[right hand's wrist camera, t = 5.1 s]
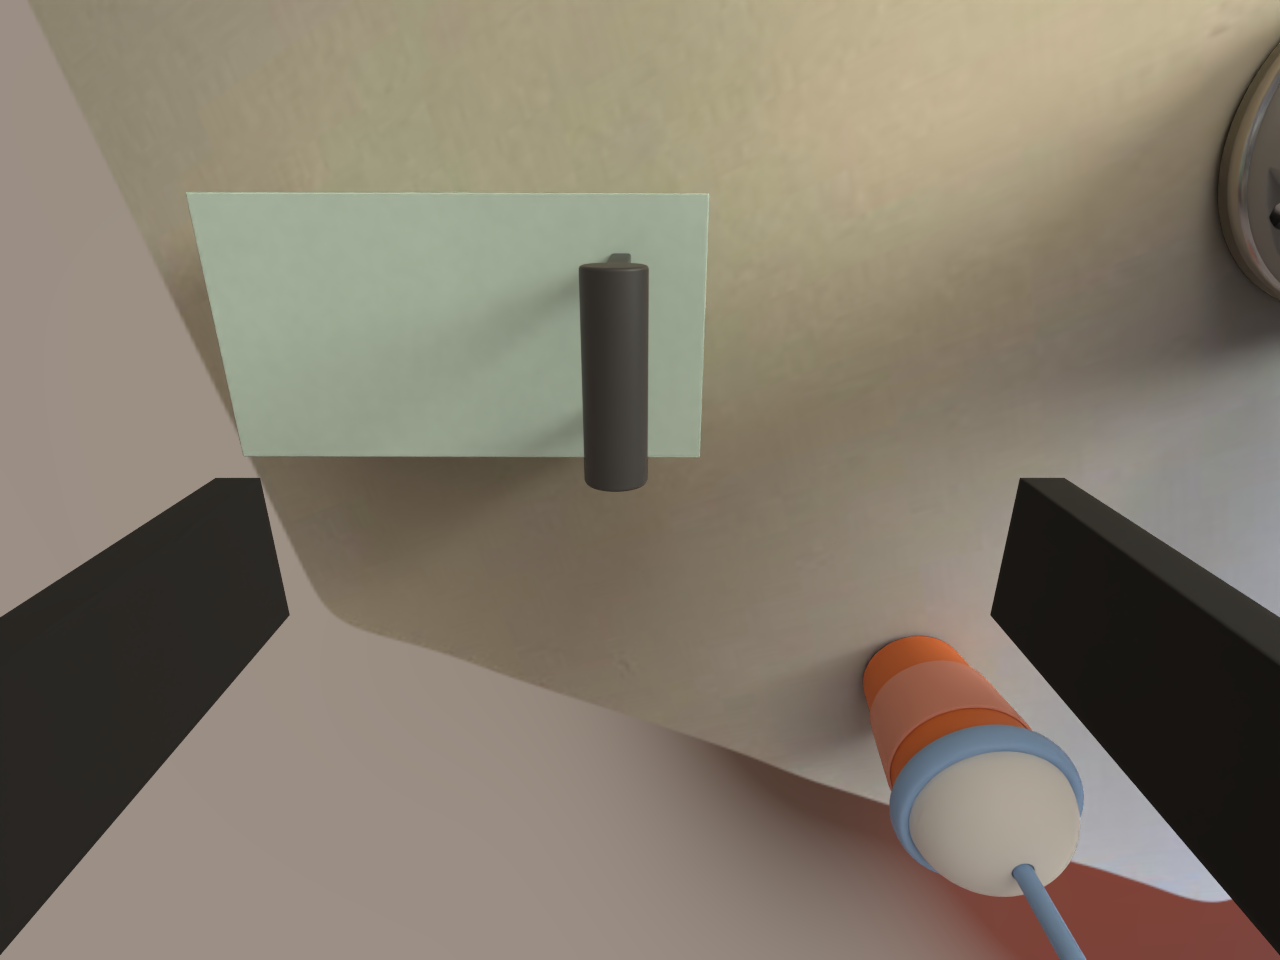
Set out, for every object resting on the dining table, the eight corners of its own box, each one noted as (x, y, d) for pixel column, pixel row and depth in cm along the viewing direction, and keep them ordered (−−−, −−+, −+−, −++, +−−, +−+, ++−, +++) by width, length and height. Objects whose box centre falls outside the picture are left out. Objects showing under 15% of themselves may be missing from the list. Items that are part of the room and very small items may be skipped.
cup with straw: (828, 731, 45) (938, 1042, 28) (849, 610, 42) (987, 882, 25) (968, 736, 45) (1160, 1048, 29) (1000, 615, 42) (1238, 890, 25)
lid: (707, 193, 25) (740, 188, 17) (698, 451, 28) (721, 551, 20) (198, 192, 25) (-19, 186, 17) (253, 450, 28) (97, 549, 20)
